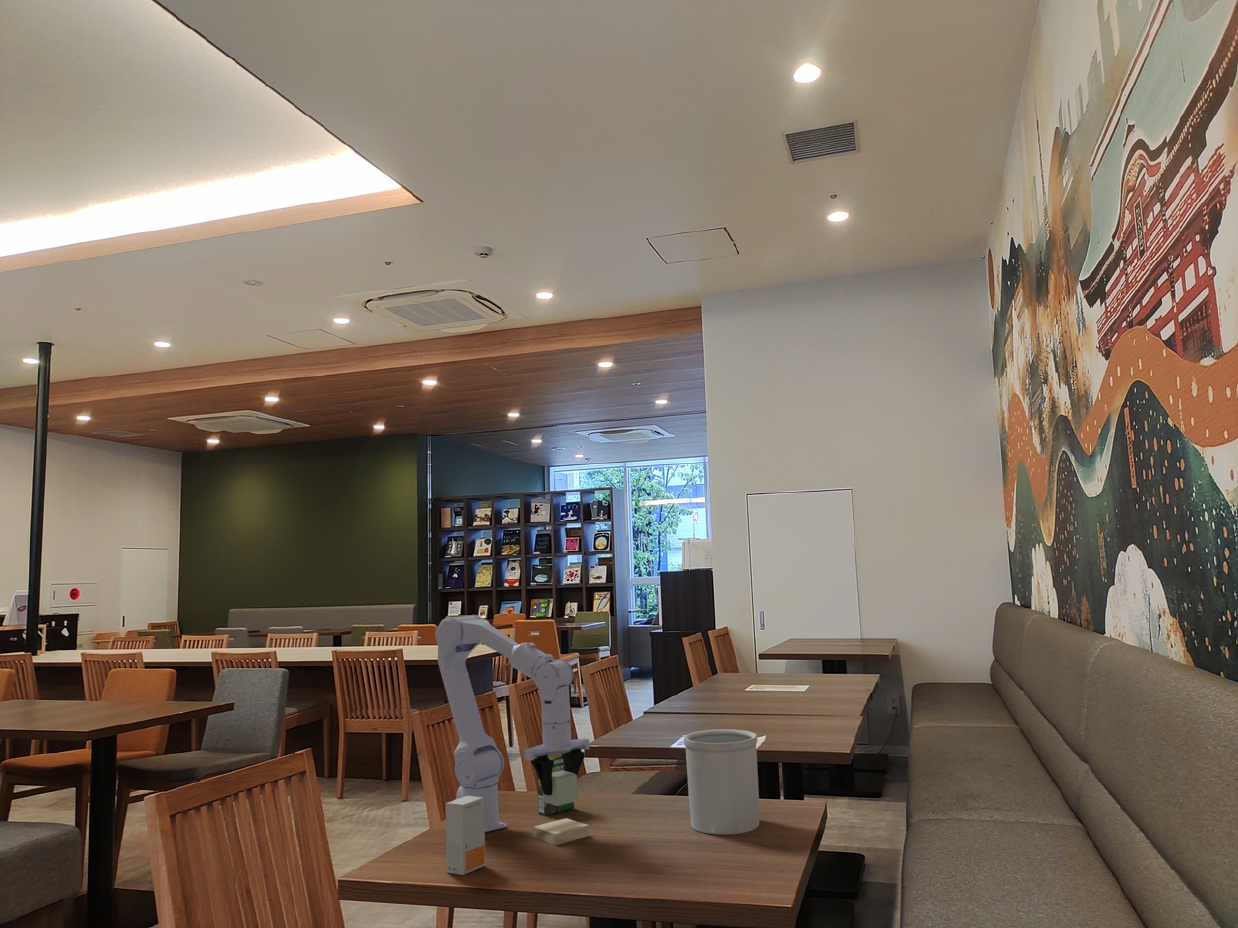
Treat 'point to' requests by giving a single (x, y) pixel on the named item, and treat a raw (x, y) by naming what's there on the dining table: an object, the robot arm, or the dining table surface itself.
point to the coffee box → (542, 806)
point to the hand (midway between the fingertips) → (559, 791)
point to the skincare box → (465, 835)
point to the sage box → (562, 788)
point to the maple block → (560, 831)
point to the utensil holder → (722, 781)
